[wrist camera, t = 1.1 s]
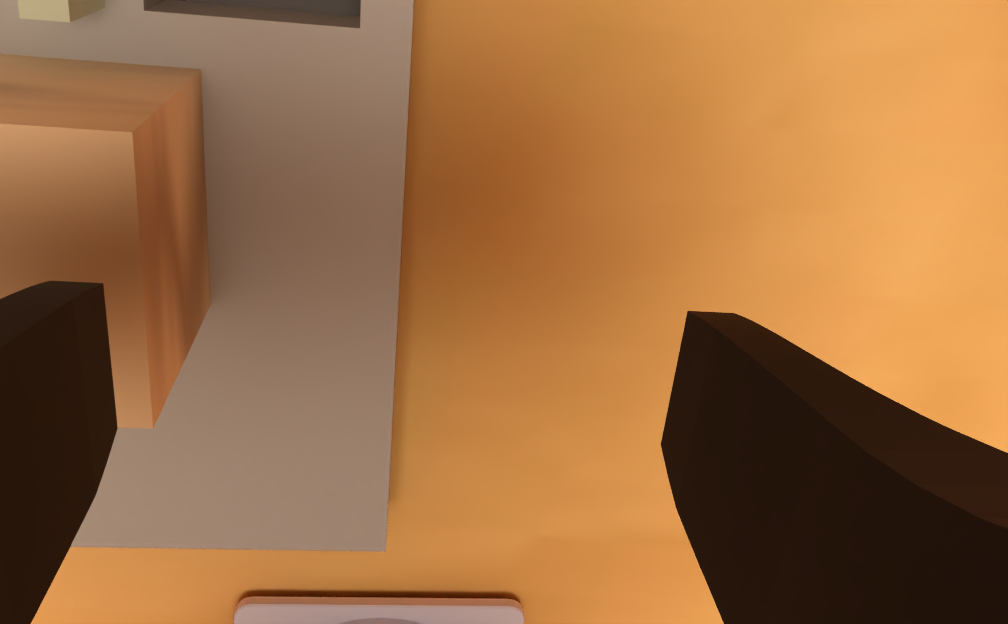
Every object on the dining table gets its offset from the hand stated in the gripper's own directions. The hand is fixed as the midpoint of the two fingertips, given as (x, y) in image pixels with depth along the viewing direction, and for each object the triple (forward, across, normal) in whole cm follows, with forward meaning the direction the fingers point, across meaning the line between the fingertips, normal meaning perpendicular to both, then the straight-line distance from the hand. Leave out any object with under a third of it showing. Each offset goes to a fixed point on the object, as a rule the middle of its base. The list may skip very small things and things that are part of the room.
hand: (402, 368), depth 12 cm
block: (+8, +6, +1) cm, 11 cm away
